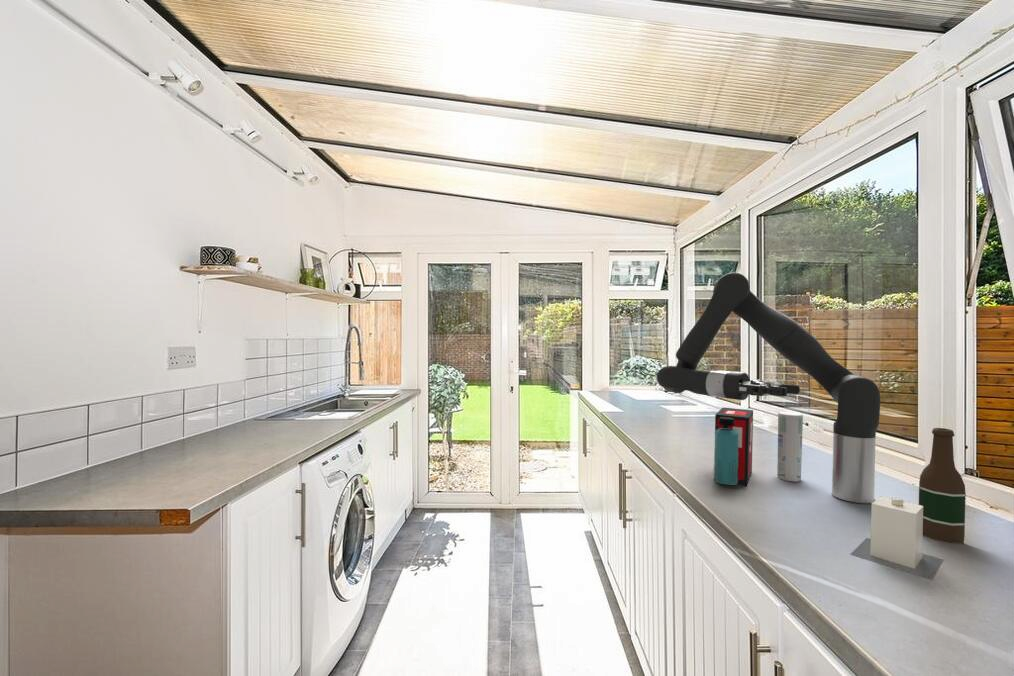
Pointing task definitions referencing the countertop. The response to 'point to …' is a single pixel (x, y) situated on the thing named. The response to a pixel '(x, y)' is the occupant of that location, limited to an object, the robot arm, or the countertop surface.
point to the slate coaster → (923, 569)
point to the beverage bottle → (726, 453)
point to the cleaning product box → (740, 439)
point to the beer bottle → (942, 492)
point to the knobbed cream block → (897, 531)
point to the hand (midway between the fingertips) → (793, 391)
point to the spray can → (789, 446)
